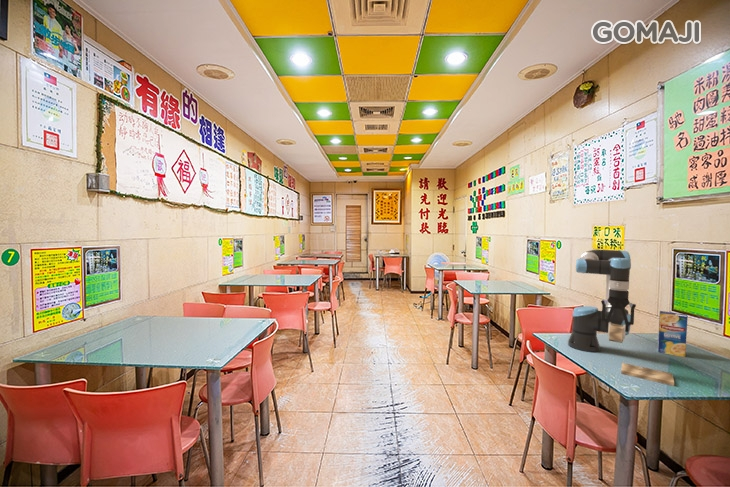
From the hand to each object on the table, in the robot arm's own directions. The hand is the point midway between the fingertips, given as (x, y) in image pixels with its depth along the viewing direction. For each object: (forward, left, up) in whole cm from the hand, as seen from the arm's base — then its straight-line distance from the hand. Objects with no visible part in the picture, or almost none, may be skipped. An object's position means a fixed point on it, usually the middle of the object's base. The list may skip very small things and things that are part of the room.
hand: (616, 336), depth 159 cm
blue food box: (+23, +46, -15) cm, 54 cm away
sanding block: (0, 0, -2) cm, 2 cm away
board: (+12, -2, -15) cm, 19 cm away
